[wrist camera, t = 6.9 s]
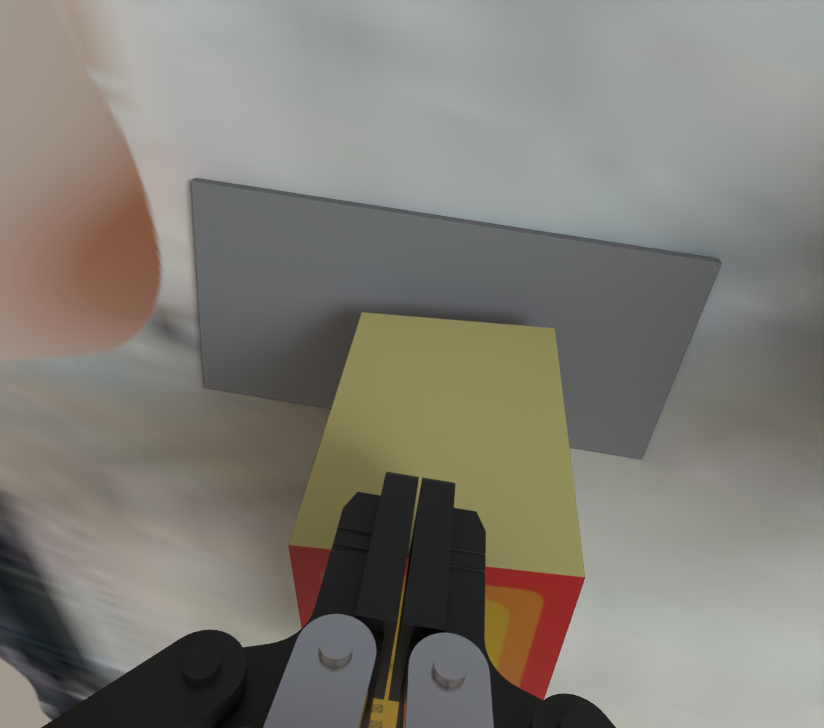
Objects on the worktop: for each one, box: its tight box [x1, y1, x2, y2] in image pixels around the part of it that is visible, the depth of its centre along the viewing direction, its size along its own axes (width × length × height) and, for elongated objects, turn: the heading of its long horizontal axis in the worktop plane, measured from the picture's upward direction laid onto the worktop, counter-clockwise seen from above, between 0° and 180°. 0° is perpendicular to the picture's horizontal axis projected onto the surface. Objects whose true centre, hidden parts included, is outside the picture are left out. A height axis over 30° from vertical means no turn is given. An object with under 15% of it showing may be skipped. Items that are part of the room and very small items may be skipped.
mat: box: [191, 178, 722, 460], centre depth 23 cm, size 8×18×1 cm, turn 83°
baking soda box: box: [289, 312, 585, 728], centre depth 22 cm, size 10×6×16 cm
